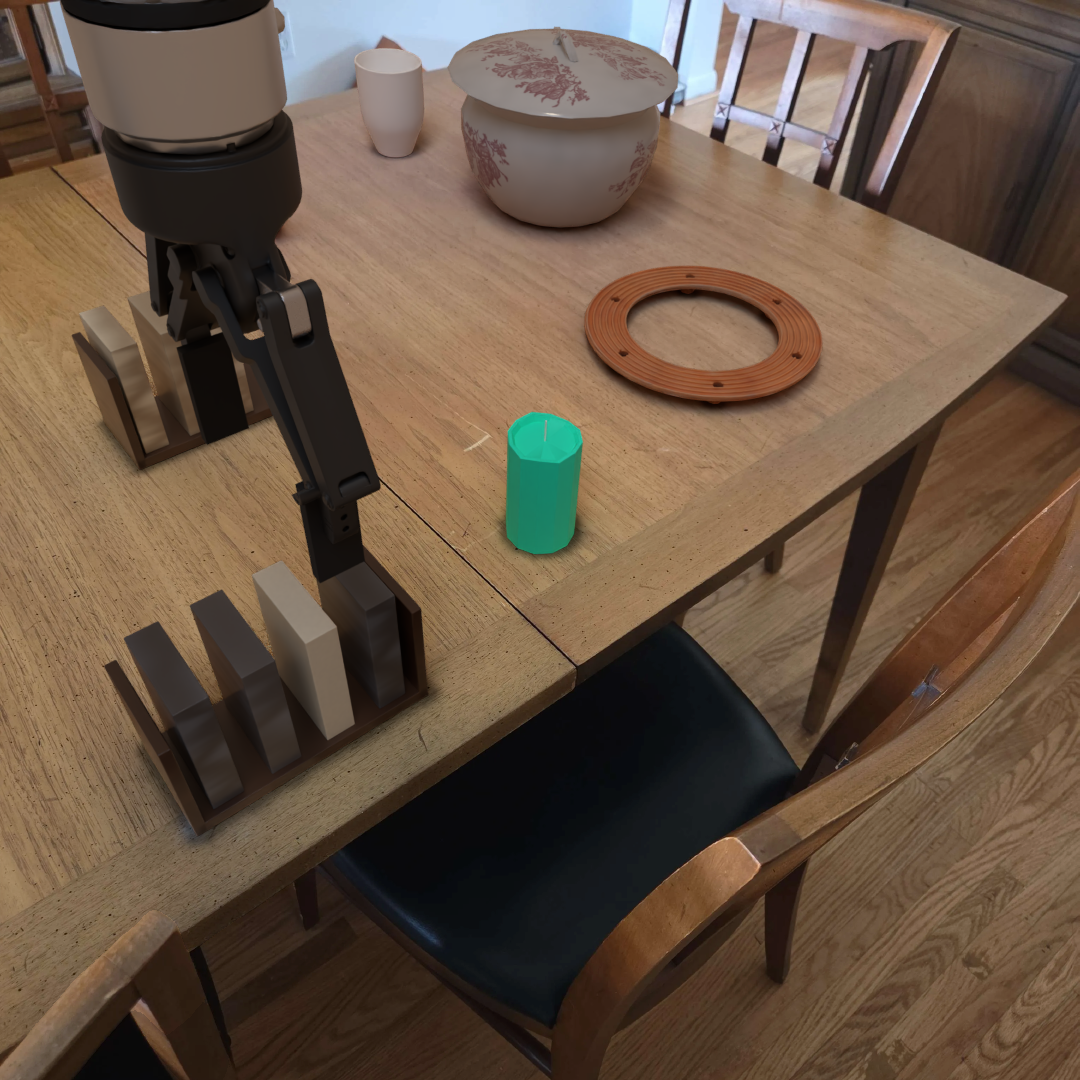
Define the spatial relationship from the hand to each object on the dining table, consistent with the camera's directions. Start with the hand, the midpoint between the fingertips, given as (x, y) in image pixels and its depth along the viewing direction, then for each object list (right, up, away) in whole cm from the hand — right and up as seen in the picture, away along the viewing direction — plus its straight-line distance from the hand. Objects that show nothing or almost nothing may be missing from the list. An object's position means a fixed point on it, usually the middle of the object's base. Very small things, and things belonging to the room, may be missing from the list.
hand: (278, 496), depth 53 cm
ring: (+32, +19, +48) cm, 61 cm away
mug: (-5, +53, +79) cm, 96 cm away
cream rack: (-17, +10, +37) cm, 42 cm away
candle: (+15, -2, +28) cm, 31 cm away
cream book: (-1, -14, +14) cm, 19 cm away
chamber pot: (+17, +42, +69) cm, 83 cm away
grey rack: (-3, -15, +13) cm, 20 cm away
